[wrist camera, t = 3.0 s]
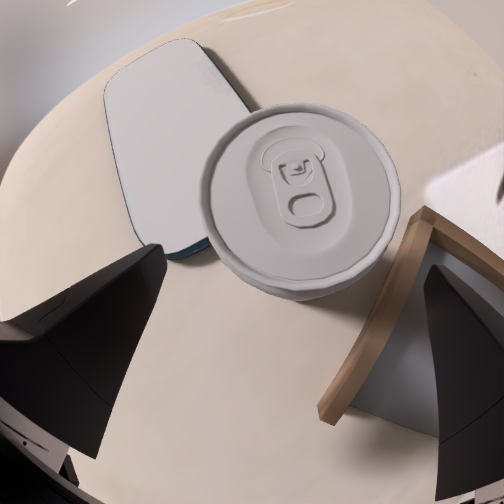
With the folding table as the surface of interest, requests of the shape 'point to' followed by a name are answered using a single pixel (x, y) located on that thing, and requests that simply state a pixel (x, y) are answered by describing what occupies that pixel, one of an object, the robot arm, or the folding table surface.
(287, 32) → the folding table surface
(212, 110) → the external hard drive
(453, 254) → the bay
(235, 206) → the beverage can
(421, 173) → the folding table surface
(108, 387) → the robot arm
